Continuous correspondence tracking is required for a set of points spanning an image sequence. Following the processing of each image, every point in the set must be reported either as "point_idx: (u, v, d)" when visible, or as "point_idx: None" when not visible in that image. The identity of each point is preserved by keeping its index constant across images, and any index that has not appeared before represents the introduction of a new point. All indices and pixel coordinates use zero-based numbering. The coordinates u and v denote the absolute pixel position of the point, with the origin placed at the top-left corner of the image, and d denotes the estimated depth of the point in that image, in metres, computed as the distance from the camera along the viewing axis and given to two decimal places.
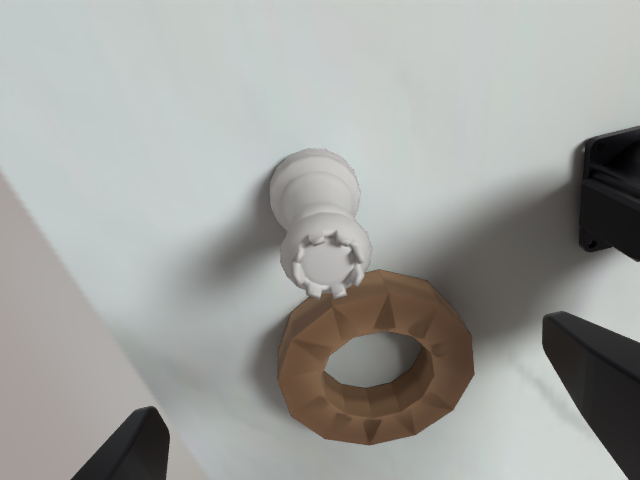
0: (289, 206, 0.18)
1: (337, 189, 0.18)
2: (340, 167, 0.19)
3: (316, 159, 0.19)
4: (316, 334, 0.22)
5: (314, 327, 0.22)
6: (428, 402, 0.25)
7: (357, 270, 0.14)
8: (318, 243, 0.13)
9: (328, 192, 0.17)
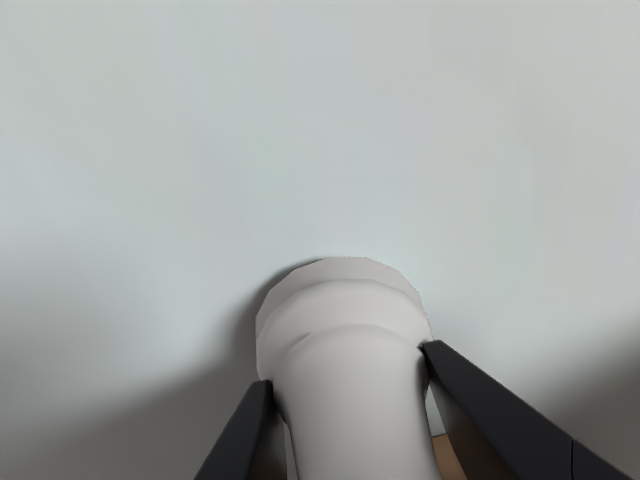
0: (294, 415, 0.08)
1: (401, 374, 0.08)
2: (401, 307, 0.09)
3: (351, 292, 0.09)
4: None
5: None
6: None
7: None
8: None
9: (387, 399, 0.07)
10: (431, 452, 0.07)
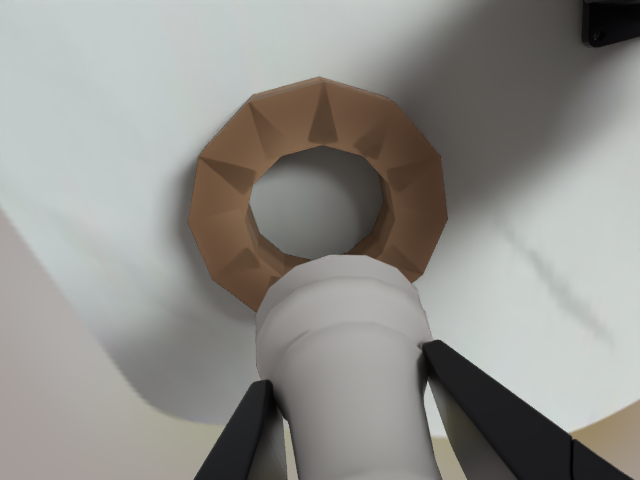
0: (293, 410, 0.08)
1: (400, 370, 0.08)
2: (400, 304, 0.09)
3: (351, 289, 0.09)
4: (231, 149, 0.16)
5: (228, 137, 0.16)
6: (390, 262, 0.19)
7: None
8: None
9: (386, 395, 0.07)
10: (429, 447, 0.07)
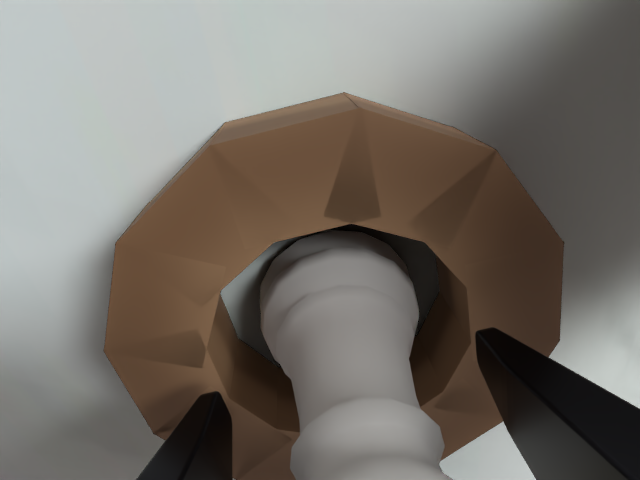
0: (295, 360, 0.09)
1: (389, 327, 0.09)
2: (390, 273, 0.10)
3: (347, 258, 0.10)
4: (178, 230, 0.09)
5: (170, 209, 0.08)
6: (455, 404, 0.12)
7: None
8: None
9: (376, 344, 0.08)
10: (411, 387, 0.08)
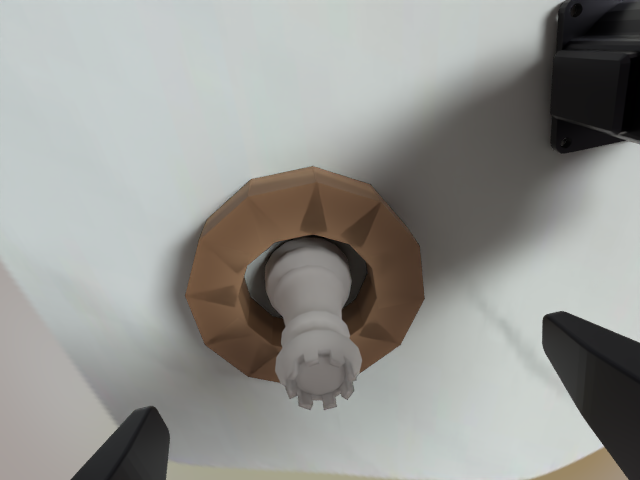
0: (284, 301, 0.18)
1: (330, 286, 0.18)
2: (334, 260, 0.20)
3: (312, 252, 0.19)
4: (229, 235, 0.18)
5: (226, 225, 0.18)
6: (371, 334, 0.21)
7: (346, 384, 0.15)
8: (313, 364, 0.14)
9: (322, 292, 0.18)
10: (338, 311, 0.18)
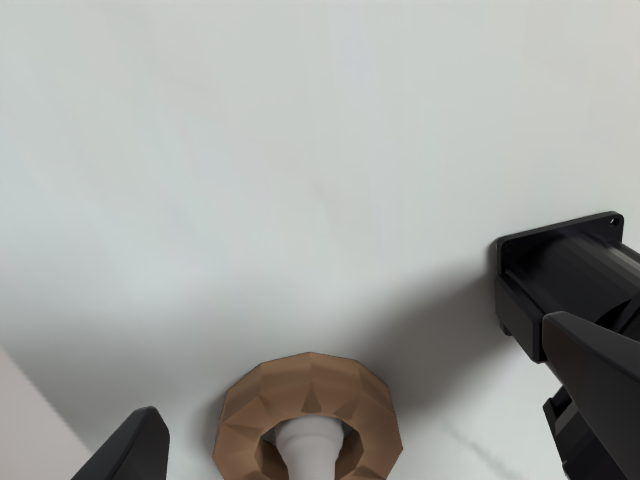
0: (289, 465, 0.24)
1: (325, 452, 0.24)
2: (328, 424, 0.25)
3: (310, 419, 0.25)
4: (246, 418, 0.23)
5: (243, 412, 0.23)
6: (361, 474, 0.26)
7: None
8: None
9: (318, 462, 0.23)
10: (331, 479, 0.23)
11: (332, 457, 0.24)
